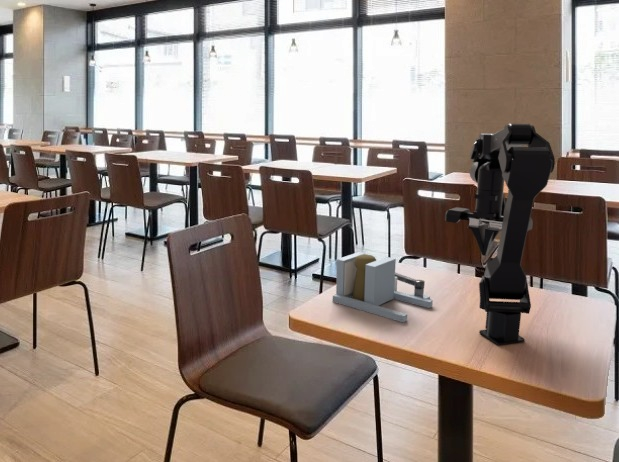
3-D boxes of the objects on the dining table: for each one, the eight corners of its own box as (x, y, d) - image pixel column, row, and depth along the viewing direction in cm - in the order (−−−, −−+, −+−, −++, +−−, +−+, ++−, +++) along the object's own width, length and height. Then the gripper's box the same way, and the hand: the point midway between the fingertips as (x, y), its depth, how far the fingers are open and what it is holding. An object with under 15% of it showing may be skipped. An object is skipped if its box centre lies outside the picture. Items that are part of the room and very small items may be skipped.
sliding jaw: (393, 298, 130) (395, 258, 128) (373, 308, 123) (374, 266, 121) (384, 295, 132) (386, 256, 130) (363, 305, 125) (364, 264, 123)
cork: (376, 295, 133) (378, 252, 130) (377, 304, 127) (378, 259, 125) (352, 294, 133) (353, 251, 131) (351, 302, 128) (352, 258, 125)
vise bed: (441, 301, 129) (443, 261, 127) (403, 322, 116) (405, 278, 114) (371, 283, 142) (373, 247, 140) (331, 300, 129) (331, 260, 126)
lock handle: (426, 288, 130) (426, 280, 129) (419, 290, 129) (420, 282, 128) (388, 275, 140) (389, 267, 139) (382, 277, 139) (382, 269, 138)
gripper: (543, 189, 122) (536, 255, 126) (466, 182, 134) (461, 242, 137) (527, 195, 114) (520, 265, 117) (446, 186, 126) (441, 251, 129)
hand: (484, 255), depth 126 cm, fingers closed
